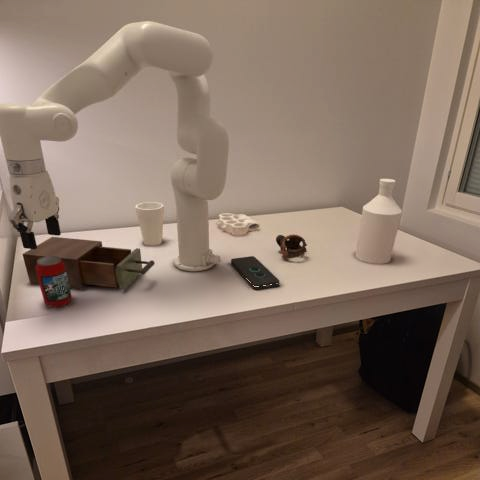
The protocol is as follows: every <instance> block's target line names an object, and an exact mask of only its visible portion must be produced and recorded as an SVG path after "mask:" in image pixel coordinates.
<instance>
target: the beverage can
mask: <svg viewBox="0 0 480 480" xmlns="http://www.w3.org/2000/svg"><path fill="white" fill-rule="evenodd" d="M36 271H37V276H38V280H39V284H40V285H39V287H40V291H41V295H42V298H43V303H44V304H45V305H46V306H49V307H52V308H60V307H63V306H66V305H67V304H69V303H70V302H71V301H72V299H73V297H72V291H71V288H70V286H69V282H68V277H67V272H66V268H65V264H64V262H63V261H62V260H61V259H60V257H58V256H46V257H42V258H40V259H39V260H38V261H37V265H36Z"/></svg>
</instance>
